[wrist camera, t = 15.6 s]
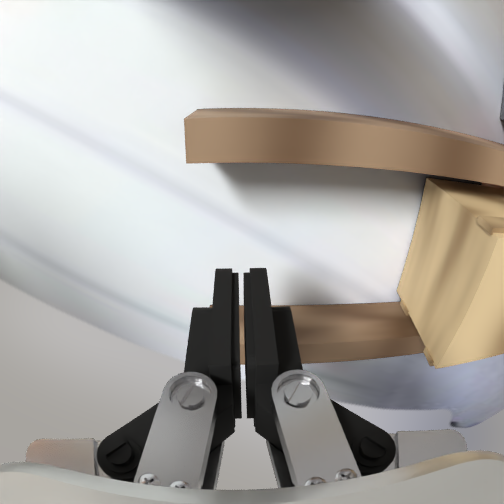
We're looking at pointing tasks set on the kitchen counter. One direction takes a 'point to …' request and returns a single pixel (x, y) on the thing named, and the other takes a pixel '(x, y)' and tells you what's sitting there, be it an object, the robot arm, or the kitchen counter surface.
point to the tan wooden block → (457, 273)
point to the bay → (354, 155)
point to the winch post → (503, 108)
